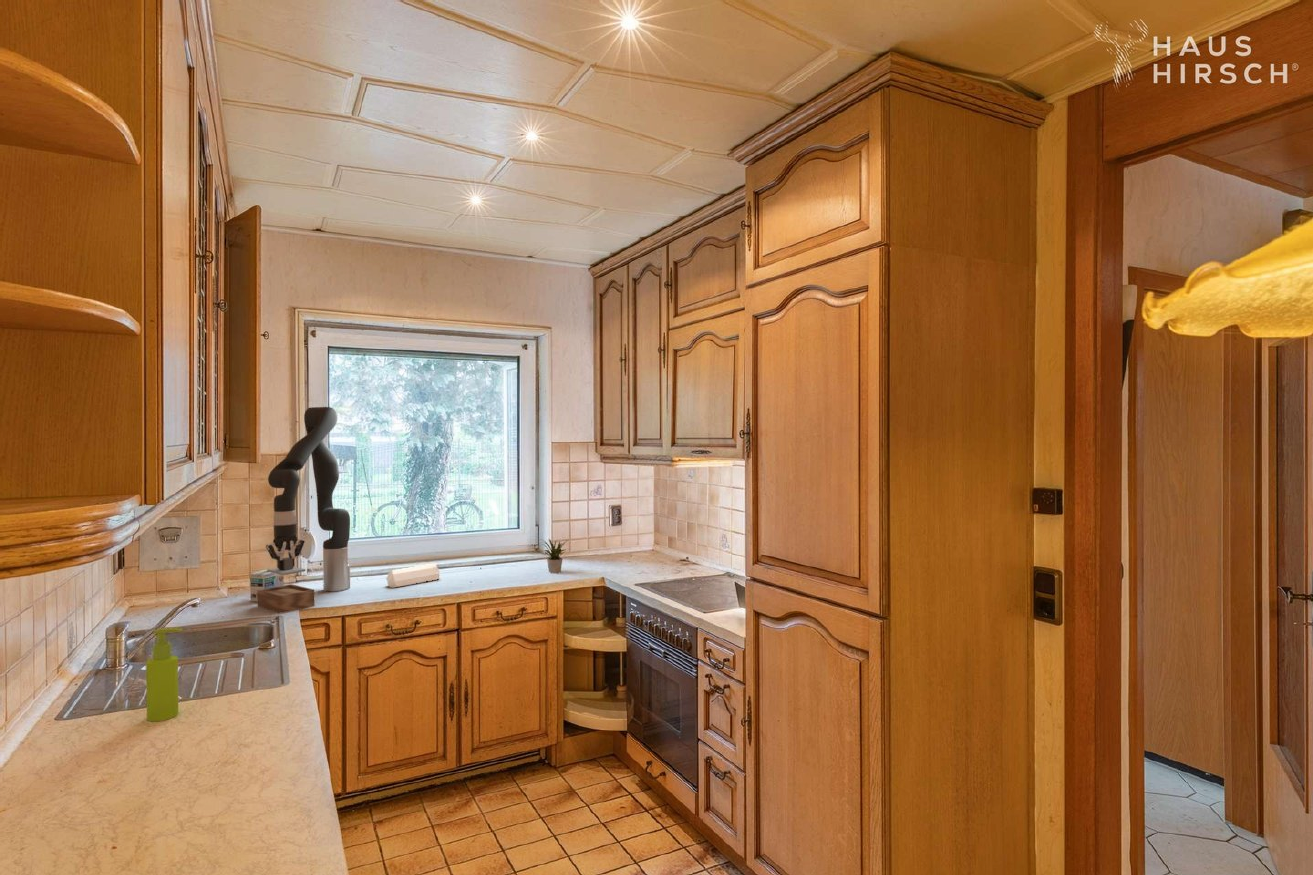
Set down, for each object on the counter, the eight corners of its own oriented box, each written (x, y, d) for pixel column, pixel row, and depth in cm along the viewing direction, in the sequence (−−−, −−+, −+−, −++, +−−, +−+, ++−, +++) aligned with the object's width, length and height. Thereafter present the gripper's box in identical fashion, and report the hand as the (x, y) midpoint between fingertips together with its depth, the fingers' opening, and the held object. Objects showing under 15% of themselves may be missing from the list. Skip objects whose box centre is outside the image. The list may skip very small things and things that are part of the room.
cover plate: (288, 567, 269) (288, 555, 269) (305, 571, 262) (305, 558, 262) (267, 571, 262) (266, 558, 262) (283, 575, 255) (283, 562, 255)
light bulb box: (264, 602, 268) (264, 574, 268) (249, 601, 270) (249, 573, 269) (284, 595, 279) (284, 568, 279) (270, 595, 280) (269, 568, 280)
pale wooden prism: (431, 568, 314) (380, 576, 296) (439, 561, 310) (388, 570, 292) (436, 583, 312) (385, 593, 294) (444, 577, 308) (392, 586, 290)
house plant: (530, 574, 318) (530, 538, 317) (544, 568, 331) (544, 533, 331) (559, 576, 313) (559, 539, 313) (572, 570, 327) (572, 535, 326)
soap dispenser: (178, 719, 159) (177, 630, 159) (142, 723, 157) (141, 633, 157) (187, 709, 164) (186, 624, 164) (153, 712, 163) (151, 626, 162)
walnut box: (291, 599, 272) (291, 584, 272) (314, 605, 262) (314, 589, 262) (257, 606, 262) (257, 590, 262) (280, 612, 252) (280, 596, 252)
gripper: (298, 519, 270) (299, 564, 270) (260, 524, 258) (261, 571, 259) (308, 521, 265) (309, 566, 266) (270, 526, 254) (271, 573, 254)
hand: (286, 568), depth 262 cm, fingers closed on cover plate, 3 cm apart
